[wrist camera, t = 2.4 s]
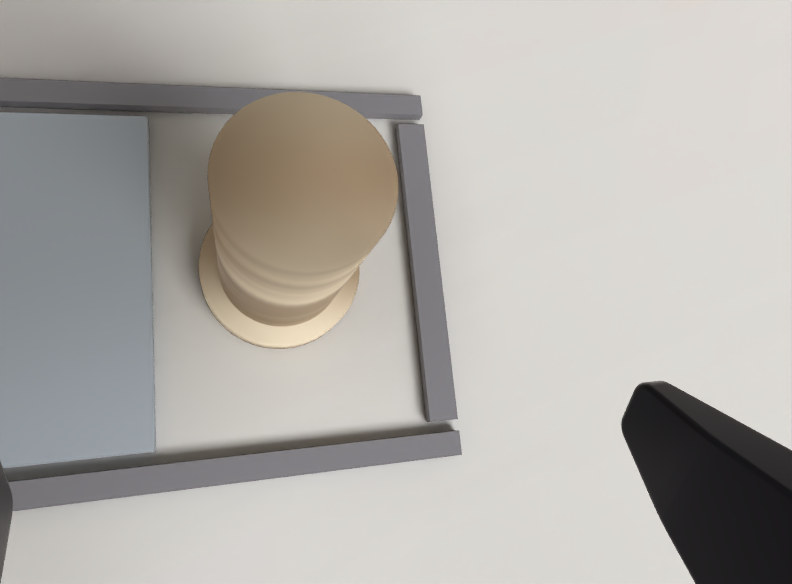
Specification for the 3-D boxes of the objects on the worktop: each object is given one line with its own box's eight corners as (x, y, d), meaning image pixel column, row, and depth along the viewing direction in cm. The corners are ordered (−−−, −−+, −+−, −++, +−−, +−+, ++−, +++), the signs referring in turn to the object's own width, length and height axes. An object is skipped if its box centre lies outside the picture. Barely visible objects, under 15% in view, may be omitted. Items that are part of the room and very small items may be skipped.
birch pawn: (360, 343, 21) (437, 293, 13) (203, 354, 20) (179, 306, 11) (347, 201, 22) (412, 72, 14) (197, 202, 20) (172, 60, 12)
